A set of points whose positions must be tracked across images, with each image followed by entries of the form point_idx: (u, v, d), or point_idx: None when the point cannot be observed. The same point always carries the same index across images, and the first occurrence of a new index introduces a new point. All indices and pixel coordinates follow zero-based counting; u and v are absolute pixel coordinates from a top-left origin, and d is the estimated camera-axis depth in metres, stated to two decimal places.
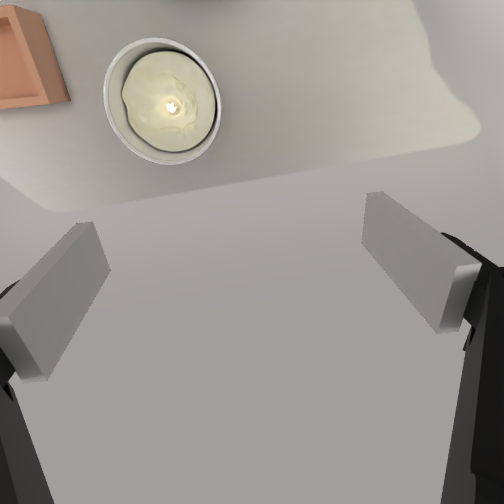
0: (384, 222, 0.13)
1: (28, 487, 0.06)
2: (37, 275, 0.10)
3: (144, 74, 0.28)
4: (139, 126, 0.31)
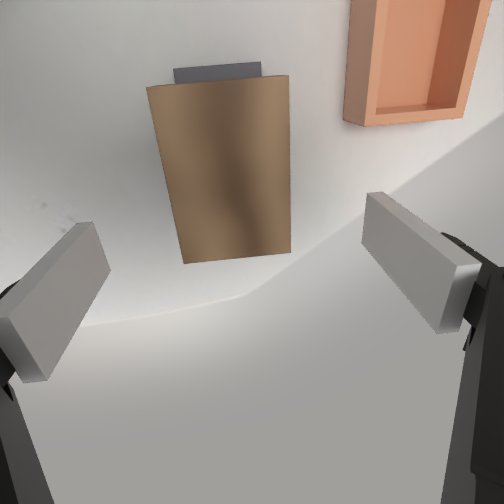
0: (384, 222, 0.13)
1: (28, 487, 0.06)
2: (37, 275, 0.10)
3: None
4: None
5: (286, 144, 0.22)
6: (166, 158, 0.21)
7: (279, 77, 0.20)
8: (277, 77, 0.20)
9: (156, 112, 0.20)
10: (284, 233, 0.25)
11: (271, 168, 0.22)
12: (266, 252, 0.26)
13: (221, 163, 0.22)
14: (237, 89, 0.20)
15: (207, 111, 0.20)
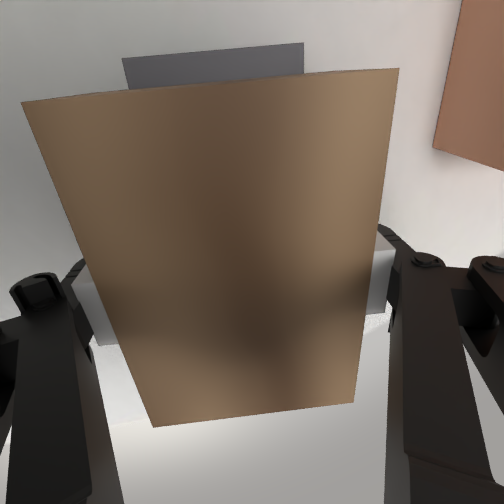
0: None
1: (98, 449, 0.06)
2: None
3: None
4: None
5: (370, 225, 0.10)
6: (98, 261, 0.09)
7: (374, 73, 0.07)
8: (369, 73, 0.07)
9: (59, 164, 0.08)
10: (344, 376, 0.13)
11: (331, 272, 0.10)
12: (308, 404, 0.14)
13: (223, 266, 0.10)
14: (264, 105, 0.08)
15: (189, 158, 0.08)
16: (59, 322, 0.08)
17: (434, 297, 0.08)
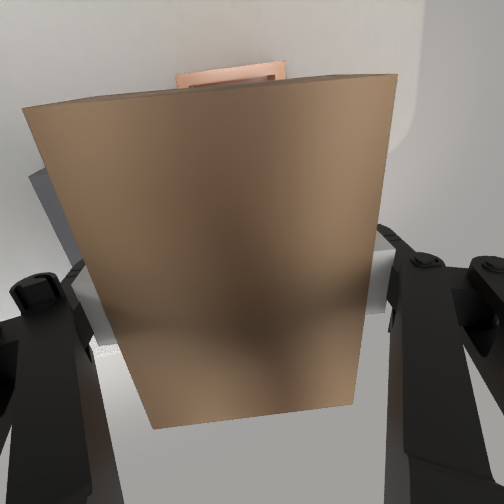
0: None
1: (97, 449, 0.06)
2: None
3: None
4: None
5: (369, 229, 0.10)
6: (98, 264, 0.09)
7: (373, 79, 0.08)
8: (368, 79, 0.08)
9: (59, 169, 0.08)
10: (343, 378, 0.13)
11: (330, 275, 0.10)
12: (307, 406, 0.14)
13: (223, 269, 0.10)
14: (263, 110, 0.08)
15: (189, 163, 0.08)
16: (59, 322, 0.08)
17: (434, 297, 0.08)
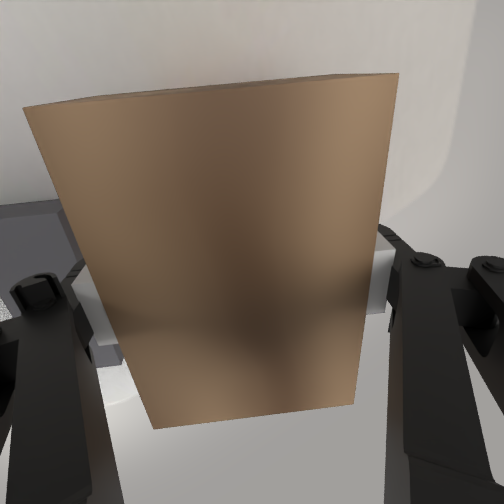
0: None
1: (98, 449, 0.06)
2: None
3: None
4: None
5: (370, 229, 0.10)
6: (99, 264, 0.09)
7: (374, 78, 0.08)
8: (369, 78, 0.08)
9: (60, 168, 0.08)
10: (344, 378, 0.13)
11: (331, 275, 0.10)
12: (308, 405, 0.14)
13: (224, 269, 0.10)
14: (264, 110, 0.08)
15: (190, 162, 0.08)
16: (59, 322, 0.08)
17: (434, 297, 0.08)
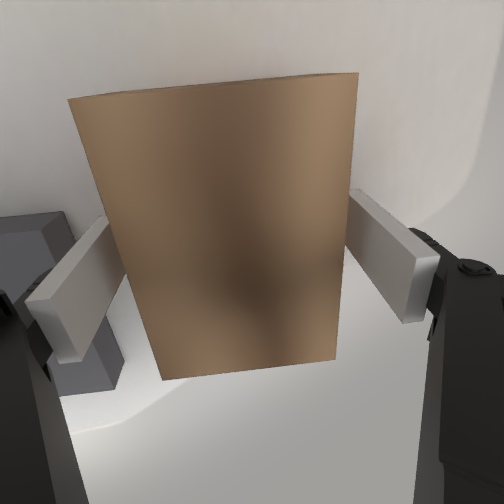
0: (358, 218, 0.14)
1: (61, 467, 0.06)
2: (71, 262, 0.11)
3: None
4: None
5: (342, 200, 0.12)
6: (121, 228, 0.12)
7: (339, 76, 0.10)
8: (335, 77, 0.10)
9: (94, 147, 0.10)
10: (326, 334, 0.15)
11: (312, 240, 0.13)
12: (296, 360, 0.16)
13: (222, 234, 0.12)
14: (254, 101, 0.10)
15: (195, 143, 0.10)
16: (11, 341, 0.08)
17: (482, 307, 0.08)
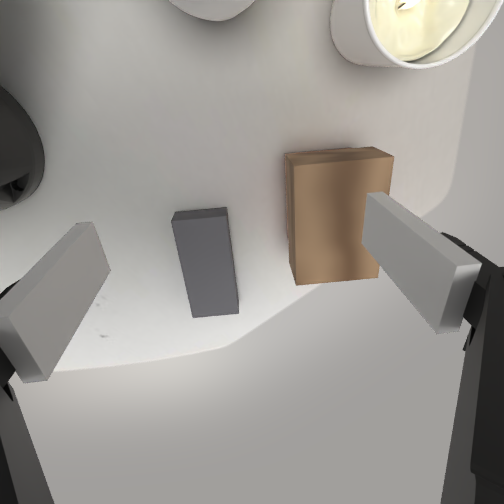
0: (384, 222, 0.13)
1: (28, 487, 0.06)
2: (37, 275, 0.10)
3: None
4: (423, 48, 0.26)
5: None
6: (298, 211, 0.30)
7: (387, 157, 0.28)
8: (385, 157, 0.28)
9: (297, 181, 0.28)
10: (374, 263, 0.33)
11: None
12: (359, 277, 0.34)
13: (337, 214, 0.30)
14: (356, 166, 0.28)
15: (333, 180, 0.28)
16: None
17: None
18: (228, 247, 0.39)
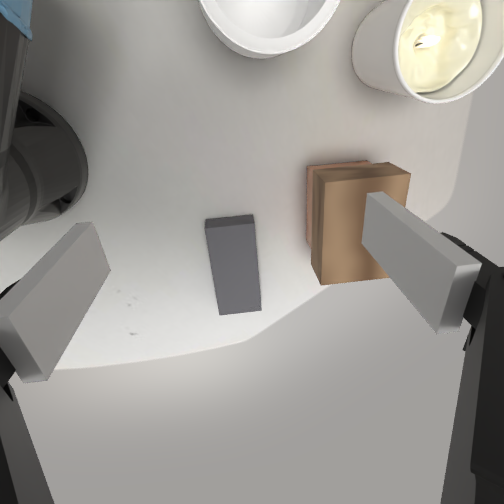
0: (384, 222, 0.13)
1: (28, 487, 0.06)
2: (37, 275, 0.10)
3: None
4: (437, 81, 0.30)
5: None
6: (326, 221, 0.34)
7: (405, 175, 0.32)
8: (403, 175, 0.32)
9: (327, 195, 0.32)
10: None
11: None
12: (376, 277, 0.38)
13: (359, 223, 0.34)
14: (378, 182, 0.32)
15: (358, 194, 0.33)
16: None
17: None
18: (255, 251, 0.43)
